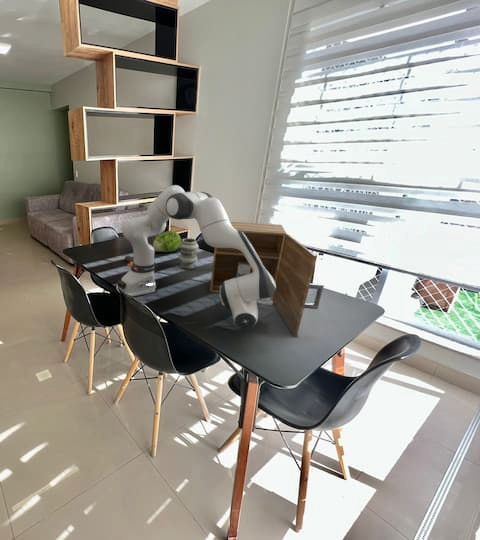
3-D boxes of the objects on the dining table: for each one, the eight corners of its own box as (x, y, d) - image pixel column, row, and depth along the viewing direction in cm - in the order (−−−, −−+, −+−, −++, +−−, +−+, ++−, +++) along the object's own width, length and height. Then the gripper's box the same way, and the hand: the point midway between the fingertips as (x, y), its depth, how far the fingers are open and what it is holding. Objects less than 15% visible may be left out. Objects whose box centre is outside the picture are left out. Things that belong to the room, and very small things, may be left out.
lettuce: (149, 253, 220) (146, 236, 211) (170, 241, 226) (168, 224, 217) (162, 262, 209) (159, 245, 199) (184, 249, 215) (182, 232, 205)
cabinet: (272, 300, 142) (286, 233, 129) (209, 291, 152) (216, 228, 139) (269, 285, 157) (281, 224, 145) (212, 278, 167) (219, 221, 155)
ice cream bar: (138, 261, 187) (130, 254, 200) (130, 262, 186) (123, 255, 199) (137, 266, 188) (130, 258, 202) (130, 267, 187) (123, 259, 200)
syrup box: (246, 287, 154) (250, 261, 149) (246, 291, 149) (251, 265, 143) (234, 285, 156) (238, 260, 150) (235, 290, 151) (238, 264, 145)
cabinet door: (287, 301, 140) (302, 234, 127) (313, 337, 113) (335, 256, 100) (272, 300, 141) (285, 234, 128) (294, 336, 114) (314, 255, 101)
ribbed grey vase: (176, 268, 183) (177, 241, 176) (179, 262, 193) (181, 236, 186) (195, 271, 178) (197, 243, 172) (198, 264, 189) (200, 238, 182)
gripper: (275, 298, 111) (271, 284, 123) (219, 290, 118) (221, 277, 130) (271, 312, 113) (268, 297, 125) (217, 304, 120) (219, 290, 132)
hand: (244, 287), depth 127 cm, fingers open, 8 cm apart
